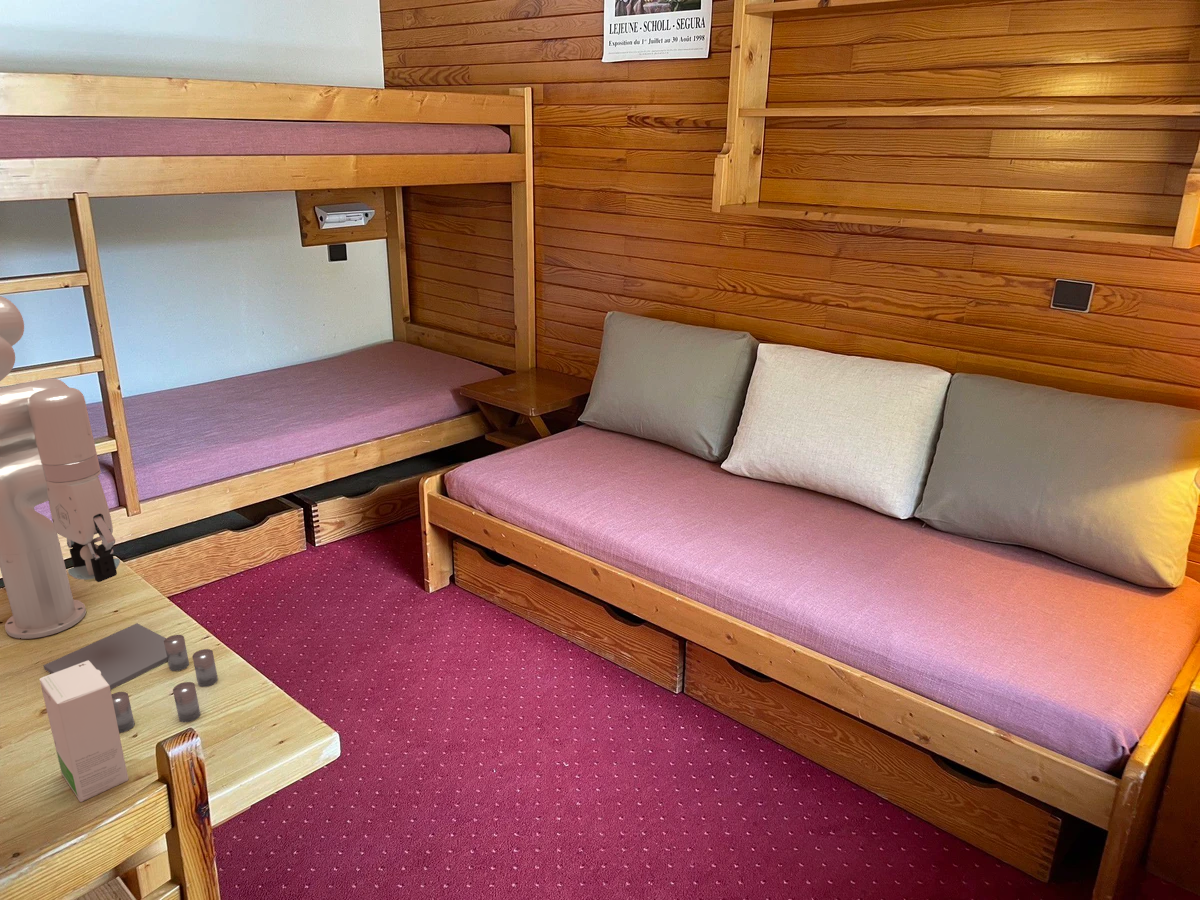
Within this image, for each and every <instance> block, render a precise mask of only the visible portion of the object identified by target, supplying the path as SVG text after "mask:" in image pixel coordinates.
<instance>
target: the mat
mask: <svg viewBox="0 0 1200 900" xmlns="http://www.w3.org/2000/svg"><path fill="white" fill-rule="evenodd" d="M166 638H167V637H164V636H163V635H161V634H159V633H157V632H155V631H153V630H151V629H149V628H147V627H145V626H143V625H141V624H139V623H137V622H136V623H135V624H132V625H130V626H128V627H126V628H124V629H120V630H119V631H116V632H114V633H113V634H110V635H107V636H106V637H105V636H104V637H103V638H101V639H99V640H97V641H95V642H92V643H90V644H87V645H86V646H83V647H81V648H79V649H77V650H75V651H72V652H70V653H68V654H66V655H63V656H60V657H59V658H57V659H54V660H52V661H50V662H48V663H45V664H42V665H43V670H44V671H46V672H47V671H48V672H47V673H49V674H50V673H51V674H53V673H55V672H58V671H61V670H64V669H66V668H69V667H72V666H74V665H77V664H80V663H82V662H85V661H88V660H89V661H90V662H91V663H92V665H93V666H94V667H95V668H96V669H97V670H100V671H101V675H102V676H103V678H104V679H105V680H106V682H107V683H108V684H109V685H110V690H111V691H112V690H113V689H114V688H117V687H119V686H121V685H122V684H125V683H127V682H129V681H131V680H133V679H136V678H137V677H139V676H141V675H144V674H145V673H147V672H149V671H151V670H153V669H155V668H158V667H159V666H162V665H163V664H166V663H168V659H167V654H166V649H165V645H164V640H165V639H166Z"/></svg>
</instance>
